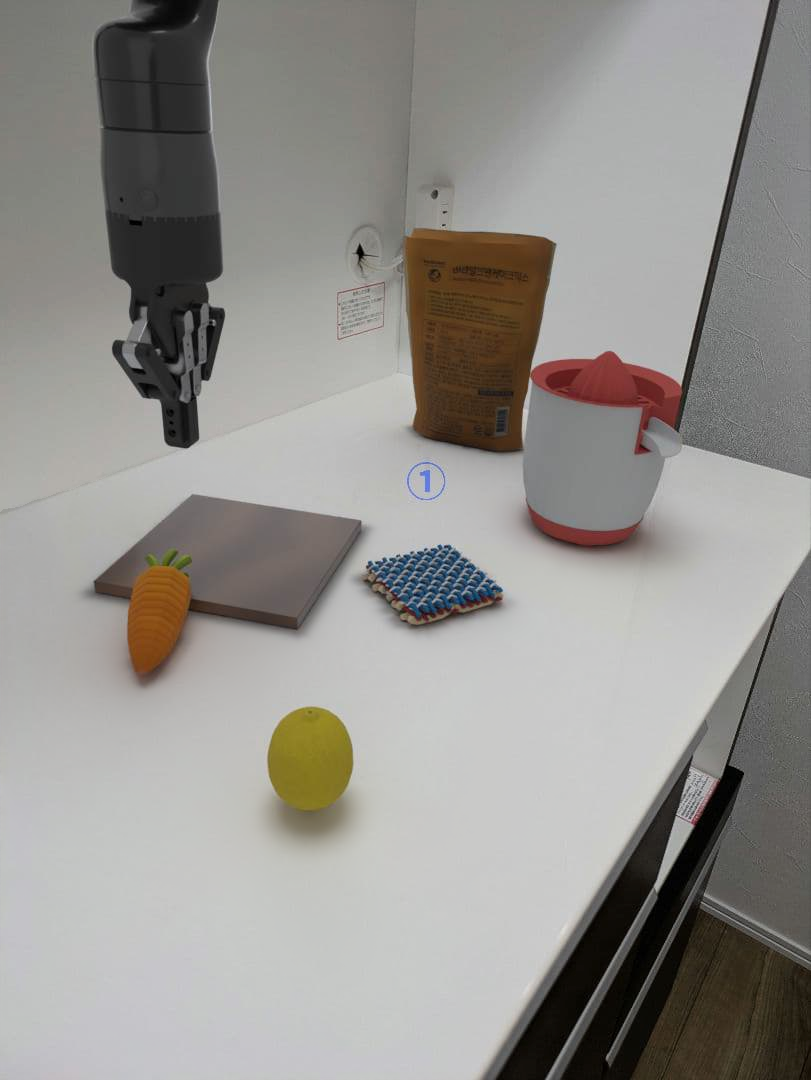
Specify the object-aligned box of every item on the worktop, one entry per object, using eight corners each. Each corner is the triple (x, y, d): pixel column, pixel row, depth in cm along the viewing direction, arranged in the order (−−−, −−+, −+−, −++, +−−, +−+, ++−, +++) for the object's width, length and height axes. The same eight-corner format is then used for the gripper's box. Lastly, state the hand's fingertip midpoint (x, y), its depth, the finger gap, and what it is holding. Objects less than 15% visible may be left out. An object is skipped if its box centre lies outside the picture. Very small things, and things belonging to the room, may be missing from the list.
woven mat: (448, 555, 86) (449, 538, 85) (507, 605, 78) (509, 587, 77) (358, 576, 82) (359, 559, 81) (411, 632, 74) (412, 613, 73)
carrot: (96, 660, 63) (135, 541, 75) (127, 701, 66) (160, 580, 78) (155, 644, 63) (185, 527, 75) (184, 686, 66) (209, 567, 78)
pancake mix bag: (523, 462, 109) (550, 240, 96) (391, 436, 116) (400, 223, 102) (536, 446, 115) (564, 233, 101) (410, 421, 121) (421, 218, 108)
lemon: (252, 802, 55) (247, 709, 52) (317, 762, 59) (316, 672, 55) (304, 851, 52) (302, 755, 48) (369, 806, 56) (372, 714, 52)
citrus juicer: (604, 580, 83) (640, 388, 74) (484, 515, 95) (502, 342, 85) (692, 538, 92) (735, 363, 83) (573, 483, 104) (598, 324, 95)
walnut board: (94, 592, 77) (93, 581, 77) (193, 503, 94) (192, 493, 94) (297, 629, 73) (297, 618, 73) (361, 529, 91) (361, 520, 90)
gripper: (160, 190, 62) (178, 410, 70) (54, 210, 51) (90, 469, 59) (254, 199, 61) (261, 422, 69) (166, 221, 49) (187, 485, 58)
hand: (182, 444), depth 64 cm, fingers closed
